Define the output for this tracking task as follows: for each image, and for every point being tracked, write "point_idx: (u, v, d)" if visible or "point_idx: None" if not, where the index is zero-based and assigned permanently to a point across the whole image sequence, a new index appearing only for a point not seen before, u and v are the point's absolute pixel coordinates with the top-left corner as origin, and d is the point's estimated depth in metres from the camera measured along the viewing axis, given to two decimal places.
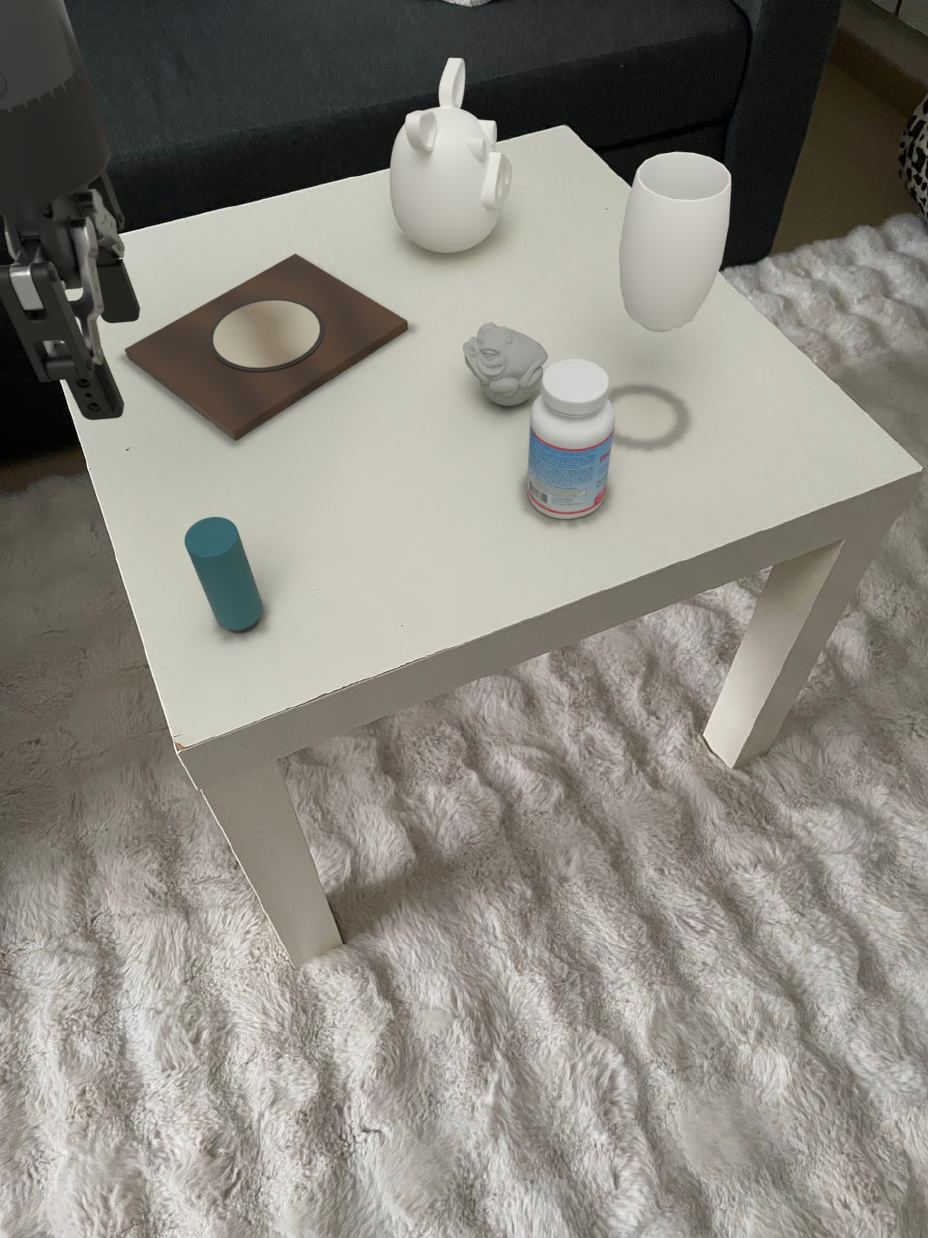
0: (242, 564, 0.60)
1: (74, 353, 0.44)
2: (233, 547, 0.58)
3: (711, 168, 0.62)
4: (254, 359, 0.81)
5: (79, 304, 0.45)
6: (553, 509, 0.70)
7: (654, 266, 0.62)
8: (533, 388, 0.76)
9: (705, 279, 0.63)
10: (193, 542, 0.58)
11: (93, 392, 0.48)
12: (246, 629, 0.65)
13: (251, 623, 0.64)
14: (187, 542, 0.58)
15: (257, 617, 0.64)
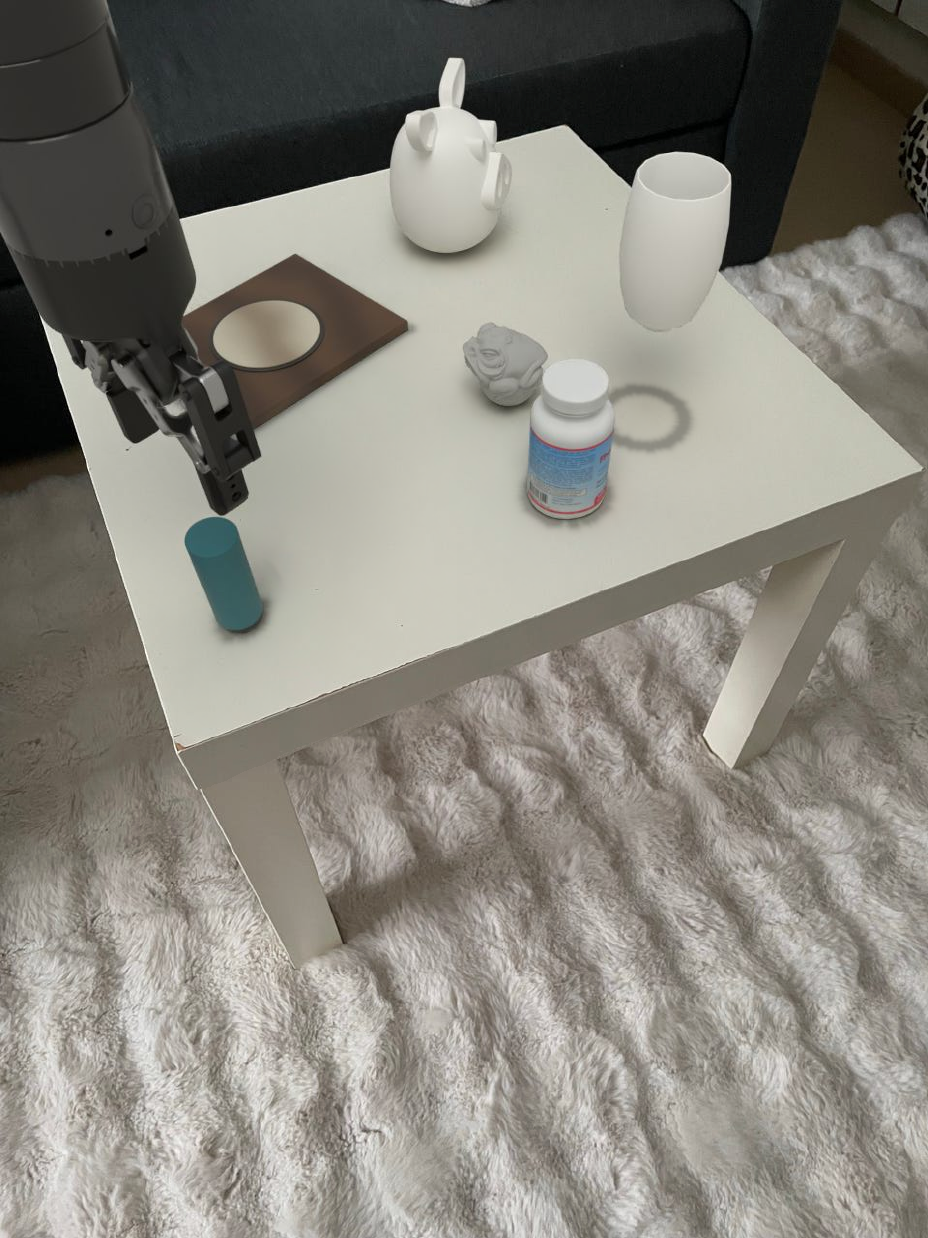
0: (242, 564, 0.60)
1: (251, 438, 0.46)
2: (233, 547, 0.58)
3: (711, 168, 0.62)
4: (254, 359, 0.81)
5: None
6: (553, 509, 0.70)
7: (654, 266, 0.62)
8: (533, 388, 0.76)
9: (705, 279, 0.63)
10: (193, 542, 0.58)
11: (237, 481, 0.50)
12: (246, 629, 0.65)
13: (251, 623, 0.64)
14: (187, 542, 0.58)
15: (257, 617, 0.64)
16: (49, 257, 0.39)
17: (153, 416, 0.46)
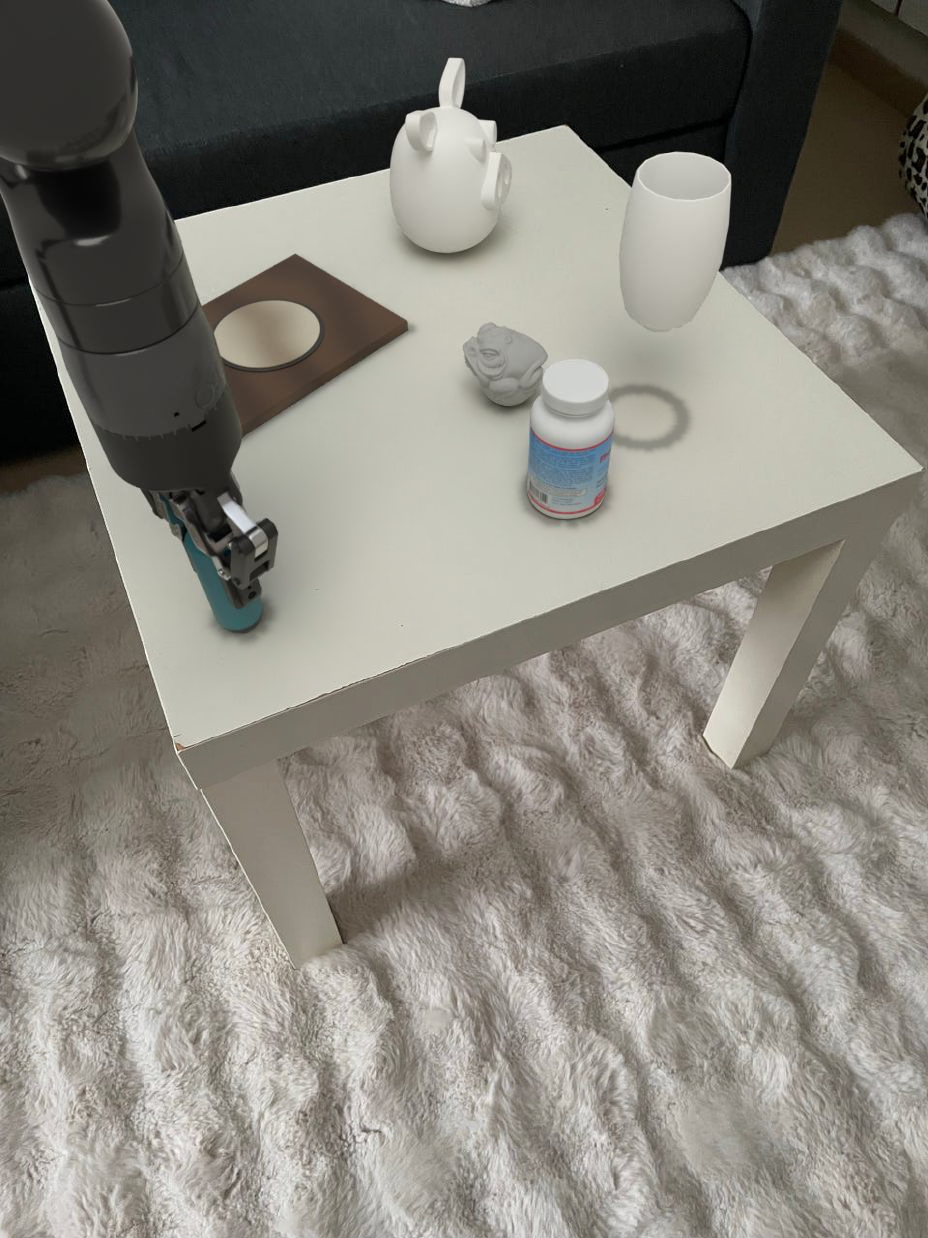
0: None
1: (271, 561, 0.56)
2: None
3: (711, 168, 0.62)
4: (254, 359, 0.81)
5: None
6: (553, 509, 0.70)
7: (654, 266, 0.62)
8: (533, 388, 0.76)
9: (705, 279, 0.63)
10: (193, 542, 0.58)
11: (252, 583, 0.59)
12: (246, 629, 0.65)
13: (251, 623, 0.64)
14: (187, 542, 0.58)
15: (257, 617, 0.64)
16: (126, 433, 0.46)
17: (193, 538, 0.55)
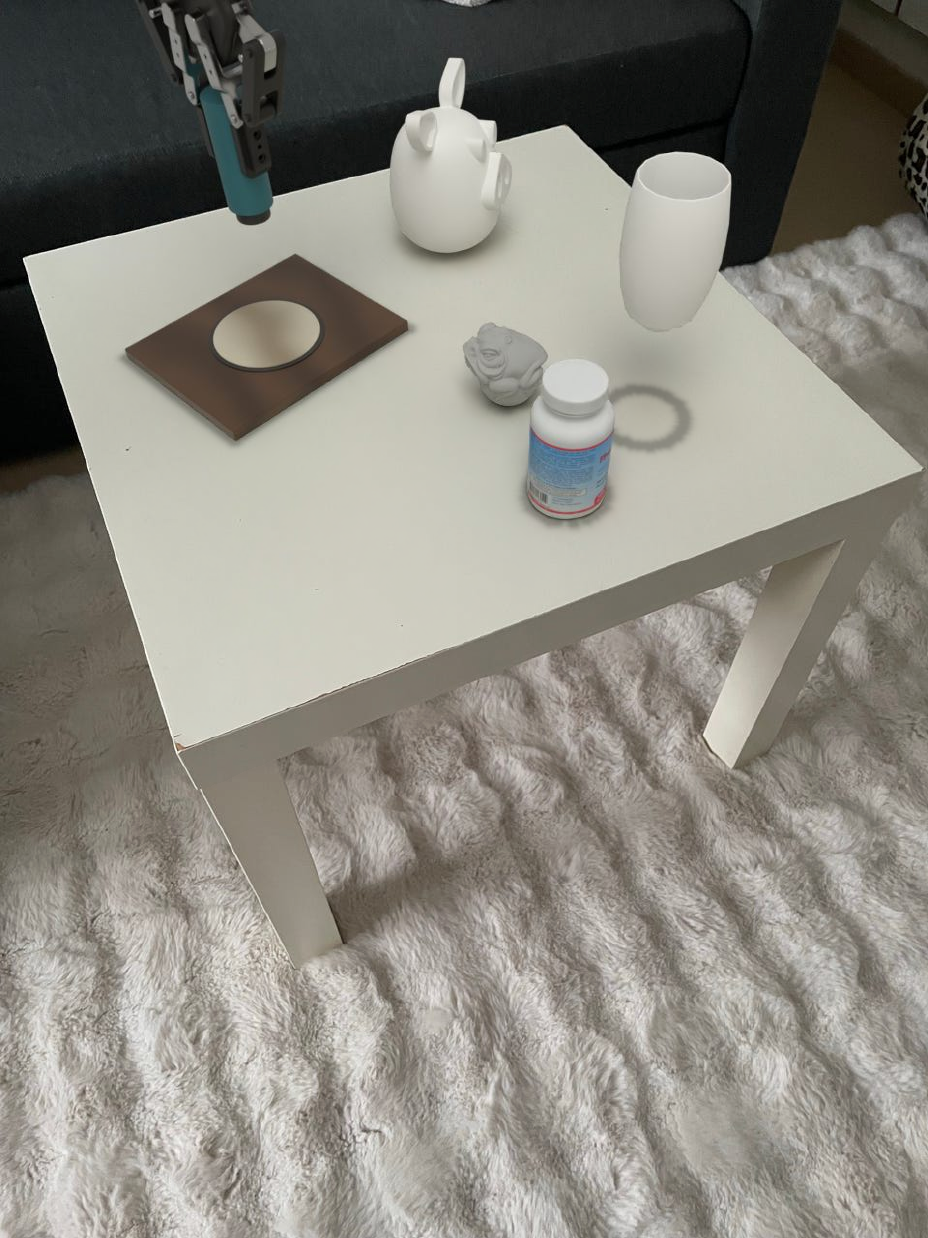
0: None
1: (280, 97, 0.60)
2: None
3: (711, 168, 0.62)
4: (254, 359, 0.81)
5: None
6: (553, 509, 0.70)
7: (654, 266, 0.62)
8: (533, 388, 0.76)
9: (705, 279, 0.63)
10: (208, 96, 0.62)
11: (262, 142, 0.63)
12: (257, 220, 0.69)
13: (262, 209, 0.68)
14: (202, 96, 0.62)
15: (268, 205, 0.68)
16: None
17: (207, 70, 0.59)
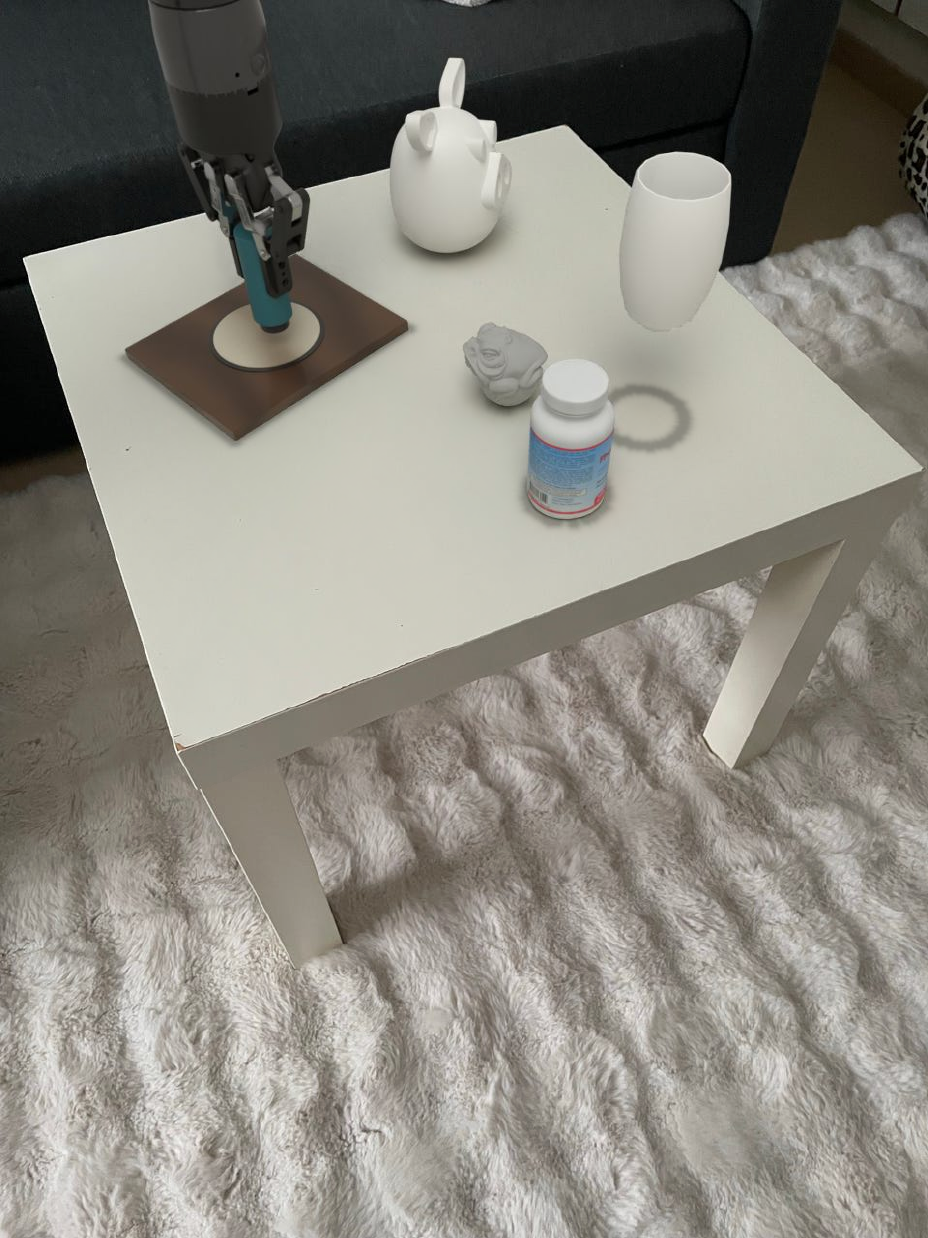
0: None
1: (303, 238, 0.71)
2: None
3: (711, 168, 0.62)
4: (254, 359, 0.81)
5: None
6: (553, 509, 0.70)
7: (654, 266, 0.62)
8: (533, 388, 0.76)
9: (705, 279, 0.63)
10: (240, 232, 0.73)
11: (286, 270, 0.74)
12: (278, 329, 0.80)
13: (283, 321, 0.79)
14: (235, 232, 0.73)
15: (288, 317, 0.79)
16: (199, 90, 0.61)
17: (242, 215, 0.70)
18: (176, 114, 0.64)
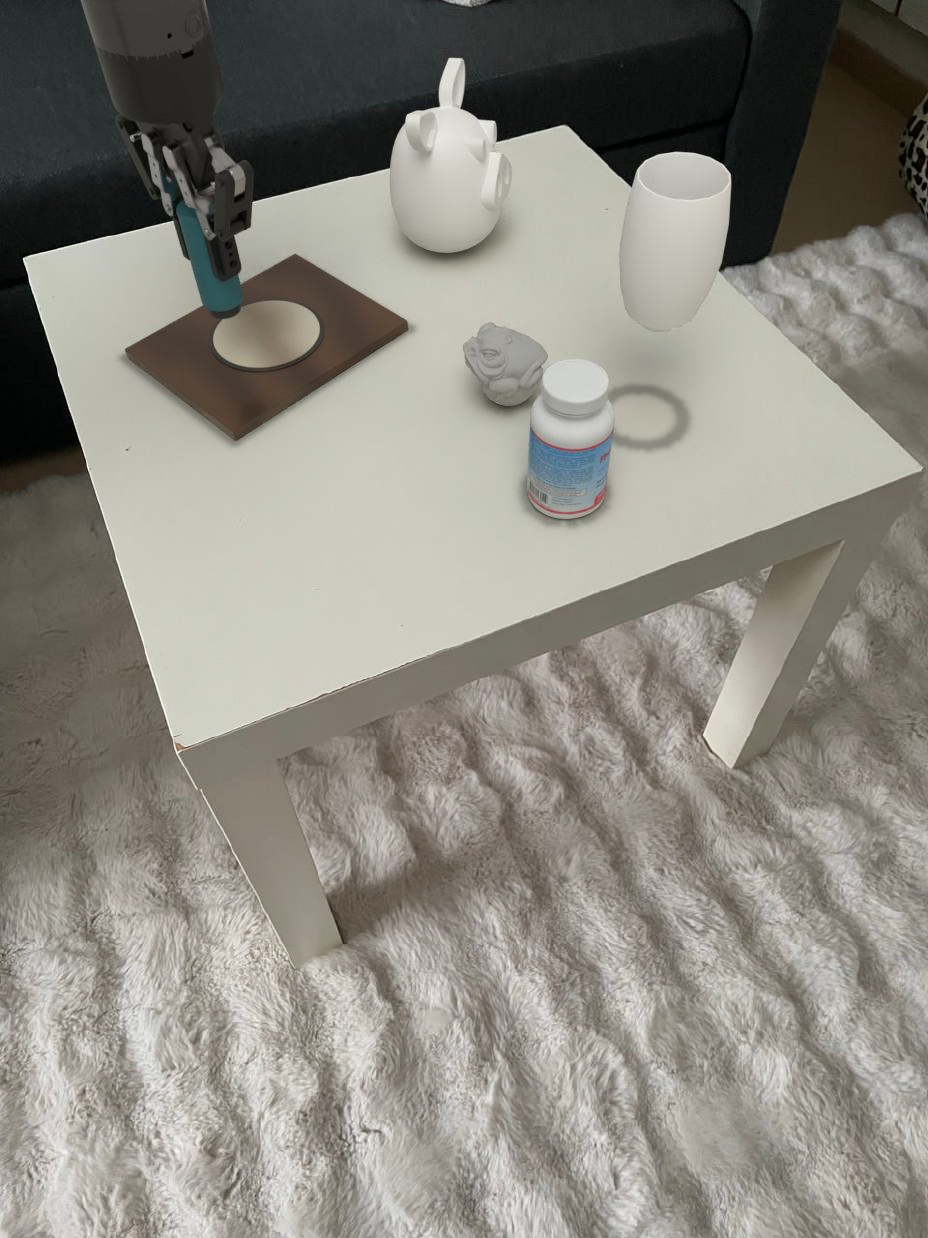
0: None
1: (249, 215, 0.67)
2: None
3: (711, 168, 0.62)
4: (254, 359, 0.81)
5: None
6: (553, 509, 0.70)
7: (654, 266, 0.62)
8: (533, 388, 0.76)
9: (705, 279, 0.63)
10: (183, 210, 0.69)
11: (233, 251, 0.70)
12: (228, 314, 0.75)
13: (233, 306, 0.75)
14: (178, 210, 0.69)
15: (238, 301, 0.75)
16: (128, 53, 0.57)
17: (183, 191, 0.66)
18: (107, 80, 0.60)
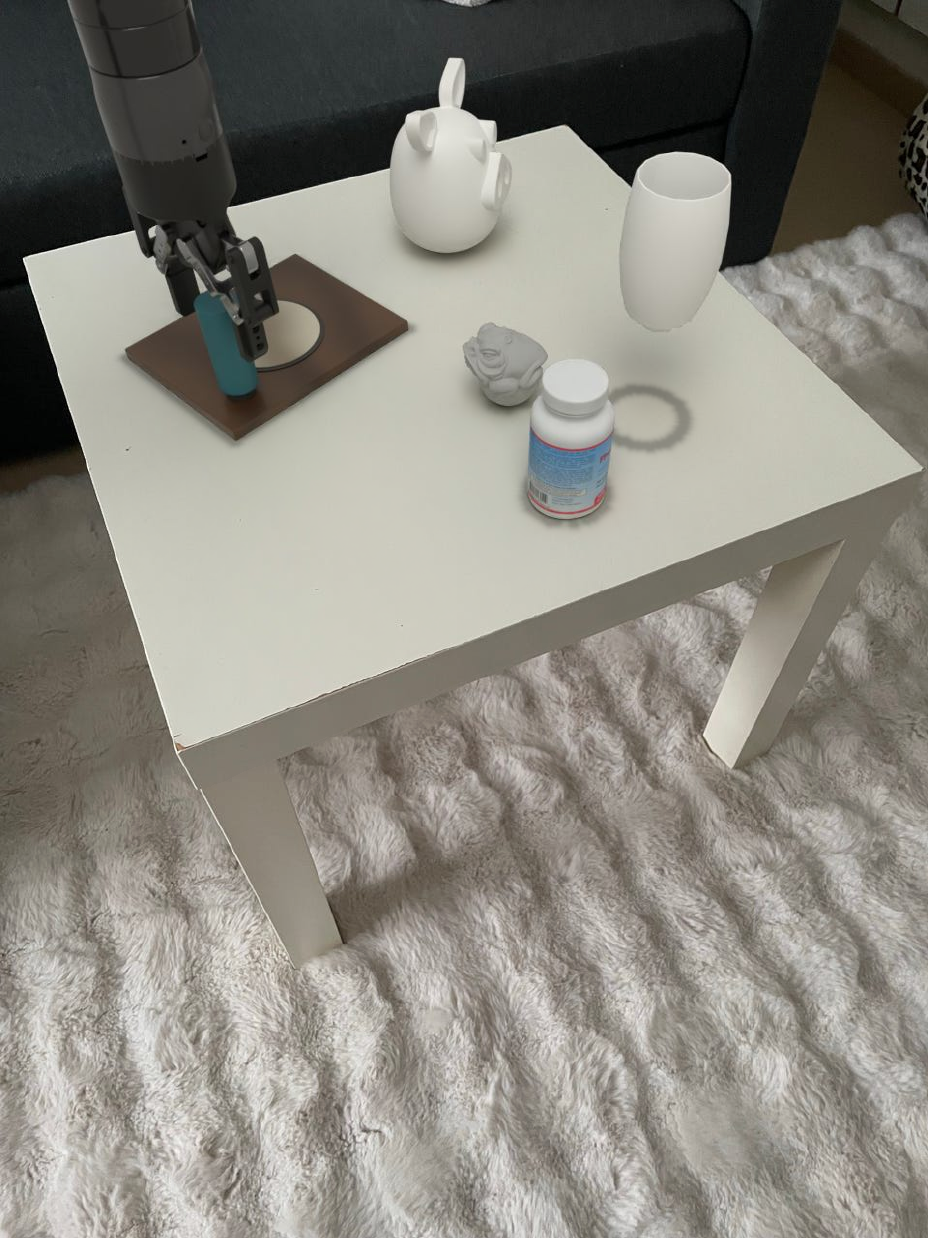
0: None
1: (272, 296, 0.66)
2: None
3: (711, 168, 0.62)
4: None
5: None
6: (553, 509, 0.70)
7: (654, 266, 0.62)
8: (533, 388, 0.76)
9: (705, 279, 0.63)
10: (201, 304, 0.71)
11: (260, 334, 0.70)
12: (244, 397, 0.78)
13: (249, 390, 0.77)
14: (196, 304, 0.71)
15: (254, 385, 0.77)
16: (144, 158, 0.59)
17: (204, 281, 0.67)
18: (123, 180, 0.61)
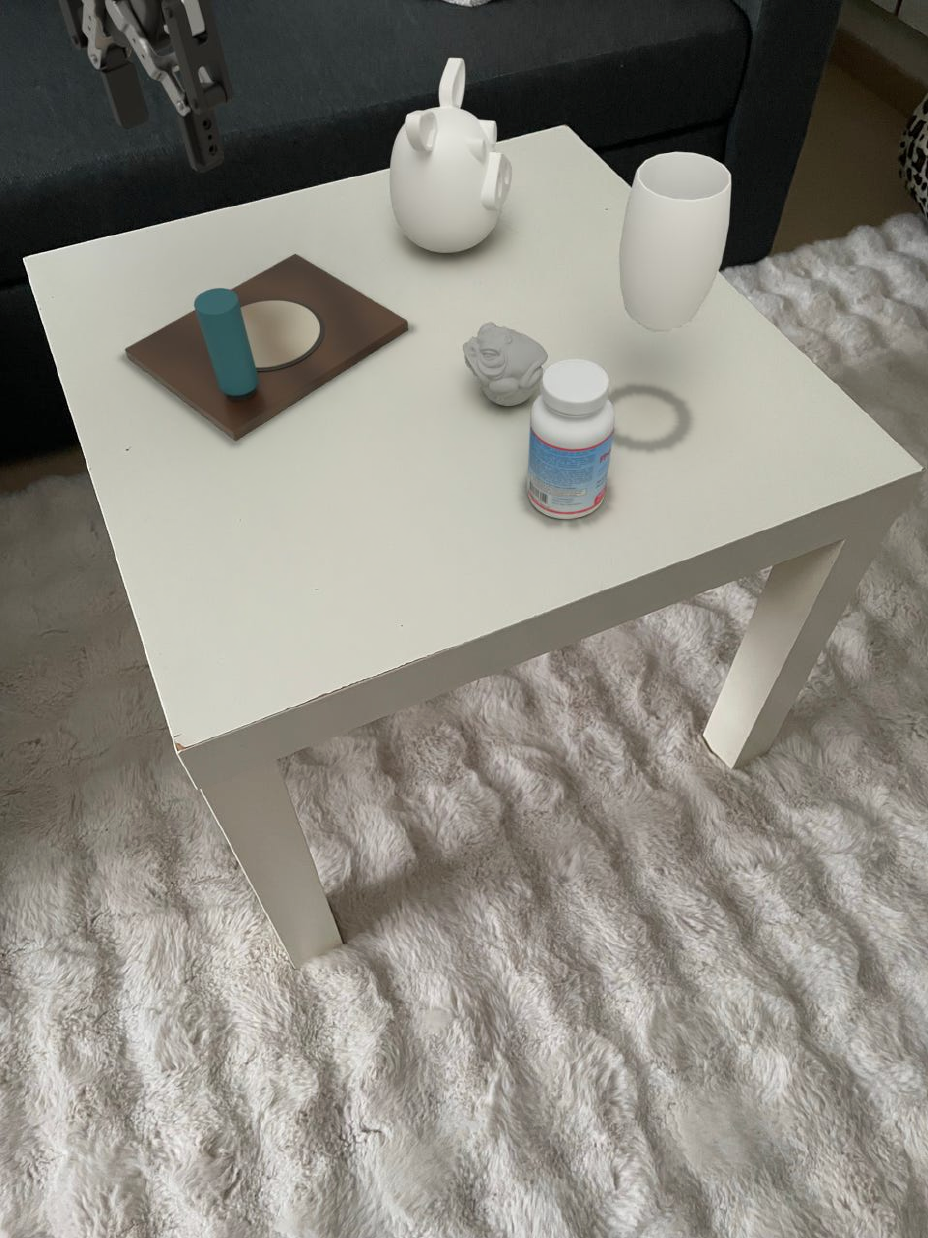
0: (241, 328, 0.73)
1: (224, 73, 0.54)
2: (234, 308, 0.71)
3: (711, 168, 0.62)
4: (254, 359, 0.81)
5: None
6: (553, 509, 0.70)
7: (654, 266, 0.62)
8: (533, 388, 0.76)
9: (705, 279, 0.63)
10: (201, 304, 0.71)
11: (213, 132, 0.58)
12: (244, 397, 0.78)
13: (249, 390, 0.77)
14: (196, 304, 0.71)
15: (254, 385, 0.77)
16: None
17: (141, 56, 0.54)
18: None
